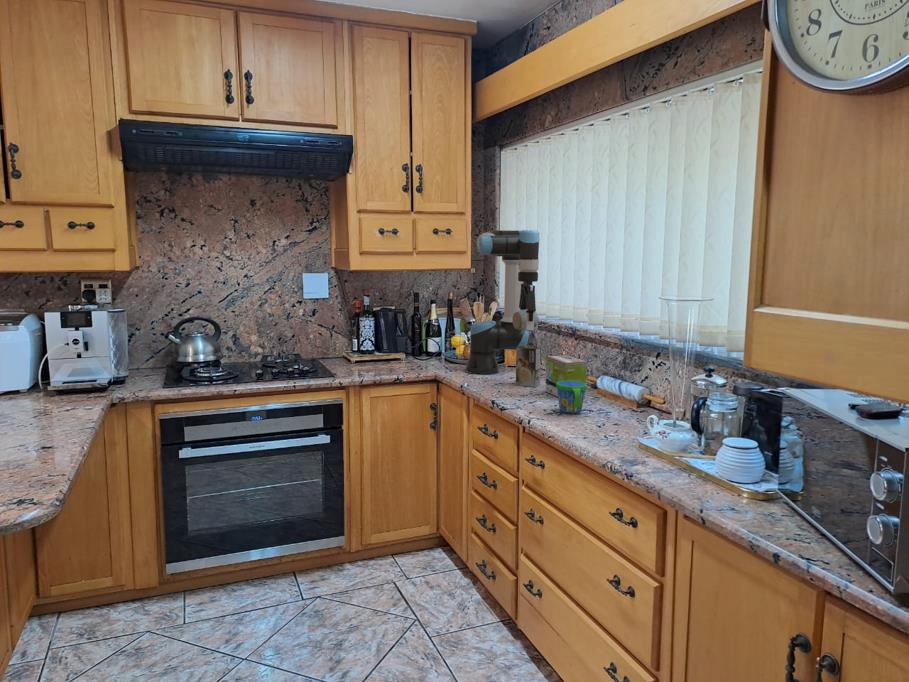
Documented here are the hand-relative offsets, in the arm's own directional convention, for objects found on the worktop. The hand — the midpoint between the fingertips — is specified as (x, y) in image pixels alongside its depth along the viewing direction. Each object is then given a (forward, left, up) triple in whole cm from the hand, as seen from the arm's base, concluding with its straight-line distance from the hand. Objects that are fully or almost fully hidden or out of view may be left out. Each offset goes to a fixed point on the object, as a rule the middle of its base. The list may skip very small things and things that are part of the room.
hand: (526, 328), depth 256 cm
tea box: (+2, +16, -26) cm, 31 cm away
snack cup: (+29, +10, -26) cm, 40 cm away
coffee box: (-18, +6, -26) cm, 33 cm away
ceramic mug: (0, 0, -1) cm, 1 cm away
